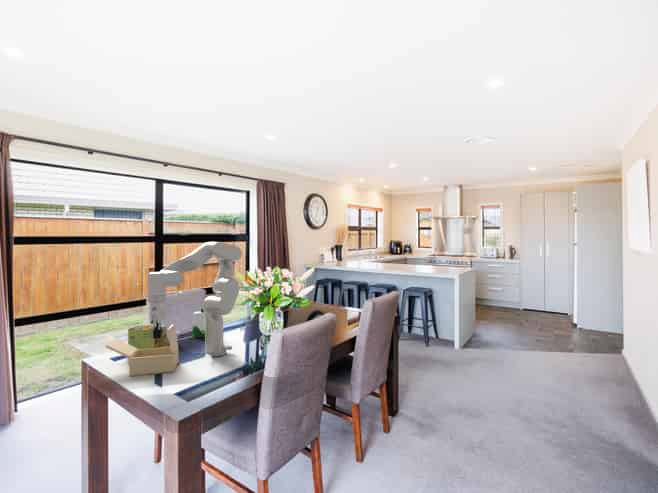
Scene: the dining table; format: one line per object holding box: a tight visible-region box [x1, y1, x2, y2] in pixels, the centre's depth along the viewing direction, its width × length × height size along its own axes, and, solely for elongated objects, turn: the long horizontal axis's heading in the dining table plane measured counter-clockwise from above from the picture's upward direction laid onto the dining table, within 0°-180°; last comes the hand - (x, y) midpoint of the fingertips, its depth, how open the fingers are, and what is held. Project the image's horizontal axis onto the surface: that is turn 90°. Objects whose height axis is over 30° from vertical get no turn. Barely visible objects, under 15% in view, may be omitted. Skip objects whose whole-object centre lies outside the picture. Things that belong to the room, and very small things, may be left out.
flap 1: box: [105, 337, 137, 359], centre depth 158 cm, size 1×12×11 cm
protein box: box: [127, 324, 168, 350], centre depth 181 cm, size 10×15×16 cm
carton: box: [128, 346, 179, 377], centre depth 162 cm, size 18×14×8 cm
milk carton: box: [192, 308, 205, 339], centre depth 221 cm, size 9×9×20 cm
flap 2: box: [167, 323, 179, 353], centre depth 164 cm, size 1×12×11 cm, turn 15°
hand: (157, 337), depth 162 cm, fingers closed
